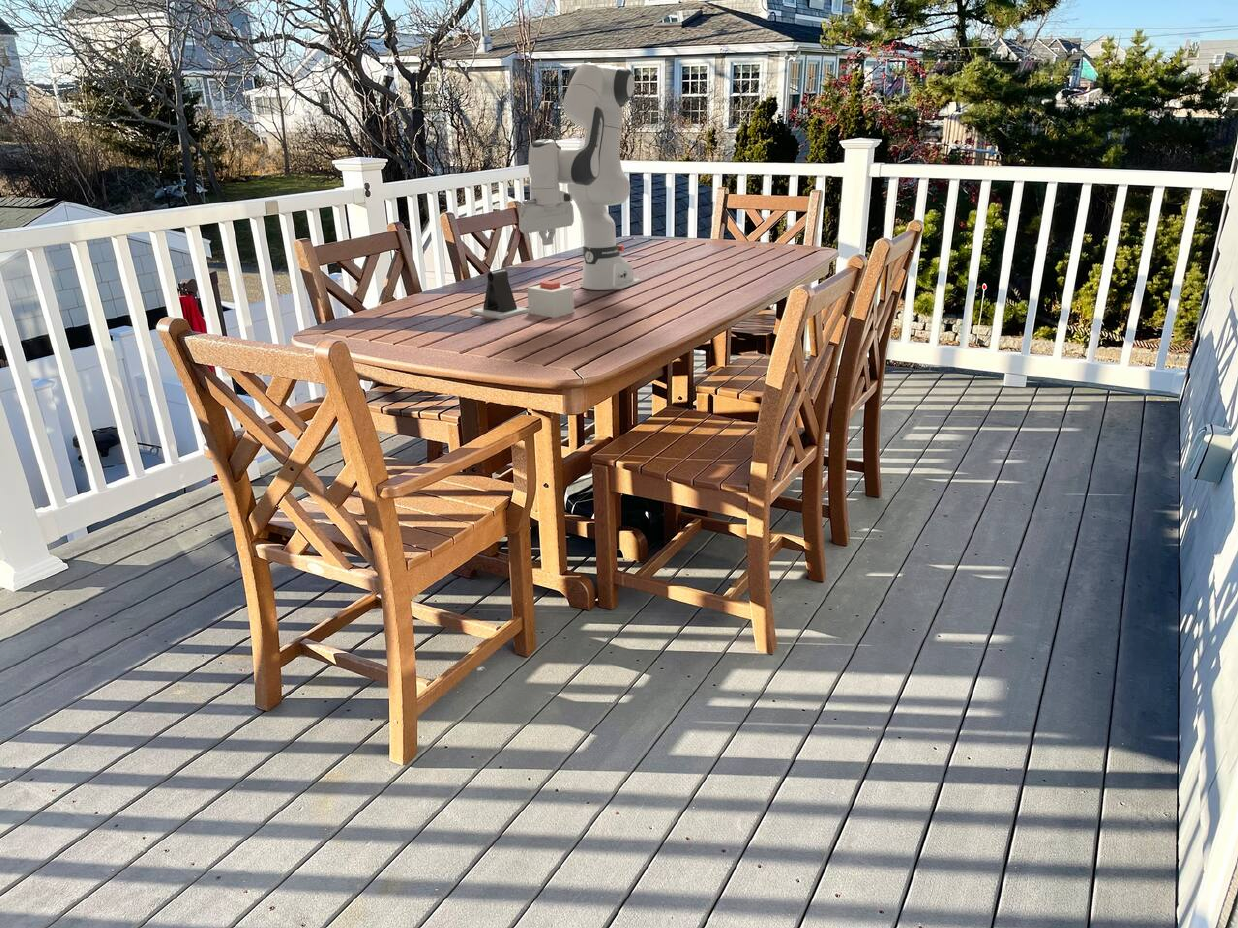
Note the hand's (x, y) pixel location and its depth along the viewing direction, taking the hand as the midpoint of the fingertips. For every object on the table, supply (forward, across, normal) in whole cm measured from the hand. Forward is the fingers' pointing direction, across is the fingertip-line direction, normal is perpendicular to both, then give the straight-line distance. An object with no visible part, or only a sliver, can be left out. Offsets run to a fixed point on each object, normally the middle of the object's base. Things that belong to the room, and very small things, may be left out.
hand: (547, 244), depth 273 cm
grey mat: (+21, -9, +14) cm, 27 cm away
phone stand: (+20, -9, +14) cm, 26 cm away
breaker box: (+21, 0, 0) cm, 21 cm away
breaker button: (+14, 0, 0) cm, 14 cm away
